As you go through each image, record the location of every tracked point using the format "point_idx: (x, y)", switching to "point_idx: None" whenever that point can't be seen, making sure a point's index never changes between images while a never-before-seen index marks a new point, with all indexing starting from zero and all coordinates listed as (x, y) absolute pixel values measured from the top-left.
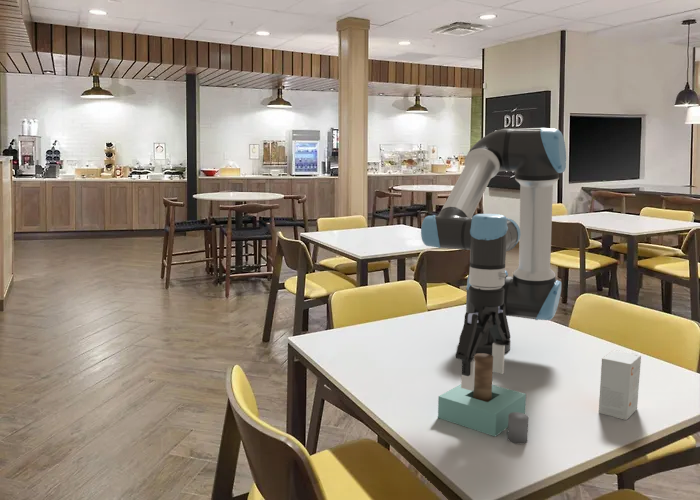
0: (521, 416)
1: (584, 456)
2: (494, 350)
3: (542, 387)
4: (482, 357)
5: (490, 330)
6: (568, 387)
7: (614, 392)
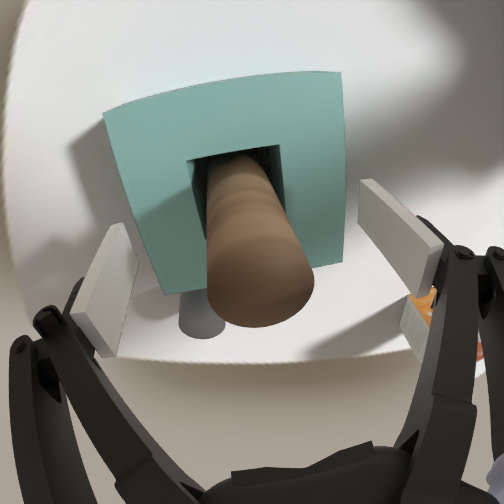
0: (207, 327)
1: (241, 358)
2: (408, 239)
3: (470, 173)
4: (237, 300)
5: (437, 347)
6: (484, 208)
7: (421, 342)
